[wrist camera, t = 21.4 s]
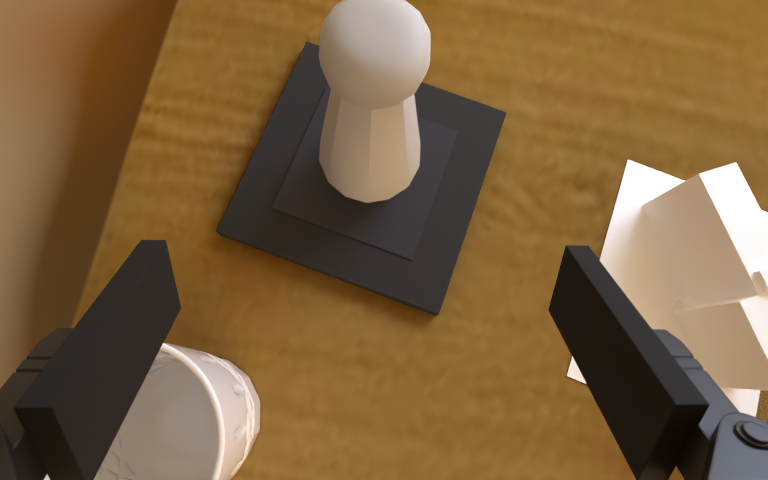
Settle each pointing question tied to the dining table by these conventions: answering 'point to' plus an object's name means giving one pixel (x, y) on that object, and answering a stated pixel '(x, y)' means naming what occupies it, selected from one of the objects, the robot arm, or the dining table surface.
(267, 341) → the dining table surface
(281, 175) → the rubber pad
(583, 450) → the dining table surface
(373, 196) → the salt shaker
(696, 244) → the napkin holder
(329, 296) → the dining table surface
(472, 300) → the dining table surface
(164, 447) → the white cup
